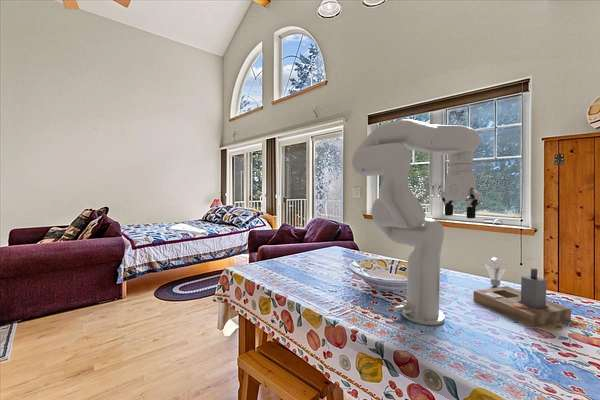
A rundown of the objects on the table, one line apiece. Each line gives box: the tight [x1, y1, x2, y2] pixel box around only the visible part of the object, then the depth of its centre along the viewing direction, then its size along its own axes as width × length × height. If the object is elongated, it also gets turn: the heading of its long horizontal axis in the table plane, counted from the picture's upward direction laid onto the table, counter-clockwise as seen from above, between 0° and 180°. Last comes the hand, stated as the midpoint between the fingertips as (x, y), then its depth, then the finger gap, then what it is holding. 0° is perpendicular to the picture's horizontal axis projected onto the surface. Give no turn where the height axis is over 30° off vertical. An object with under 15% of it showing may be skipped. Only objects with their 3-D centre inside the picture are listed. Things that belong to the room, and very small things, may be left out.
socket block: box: [473, 285, 572, 328], centre depth 93 cm, size 16×20×4 cm
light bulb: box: [485, 257, 507, 288], centre depth 114 cm, size 7×7×12 cm
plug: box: [520, 267, 548, 310], centre depth 89 cm, size 4×4×15 cm
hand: (459, 216), depth 101 cm, fingers open, 9 cm apart
